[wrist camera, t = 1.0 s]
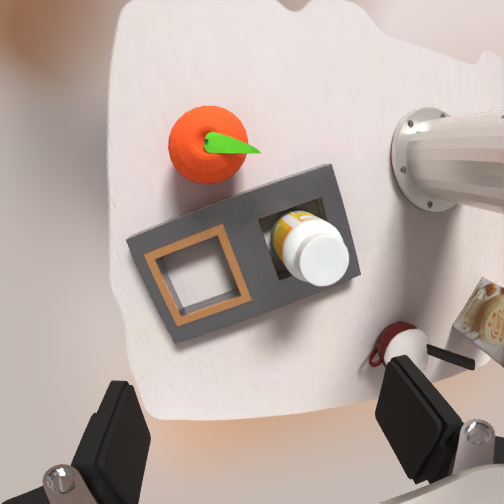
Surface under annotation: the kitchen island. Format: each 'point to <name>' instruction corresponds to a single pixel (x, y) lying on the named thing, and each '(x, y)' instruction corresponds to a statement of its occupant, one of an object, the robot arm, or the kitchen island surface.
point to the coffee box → (485, 319)
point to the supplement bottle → (310, 248)
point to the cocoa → (412, 347)
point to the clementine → (208, 144)
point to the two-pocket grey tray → (239, 252)
